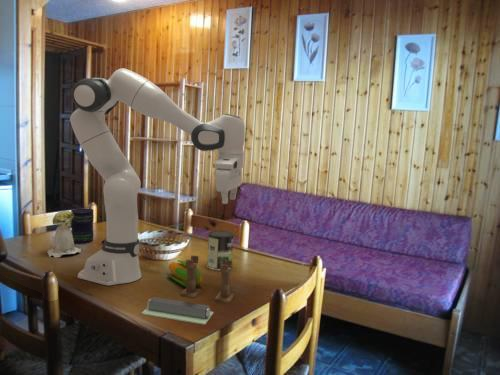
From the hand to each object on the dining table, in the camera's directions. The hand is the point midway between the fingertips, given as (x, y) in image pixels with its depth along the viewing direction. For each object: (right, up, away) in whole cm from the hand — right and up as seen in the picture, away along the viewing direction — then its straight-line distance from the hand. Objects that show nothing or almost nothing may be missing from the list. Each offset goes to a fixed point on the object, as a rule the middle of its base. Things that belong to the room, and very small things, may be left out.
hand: (228, 201), depth 143 cm
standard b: (-1, -32, -6) cm, 33 cm away
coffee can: (-5, -28, +25) cm, 38 cm away
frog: (-72, -23, +30) cm, 81 cm away
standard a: (-13, -31, -4) cm, 34 cm away
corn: (-17, -30, +6) cm, 35 cm away
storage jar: (-71, -21, +49) cm, 89 cm away
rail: (-14, -33, -20) cm, 41 cm away
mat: (-14, -33, -20) cm, 41 cm away
